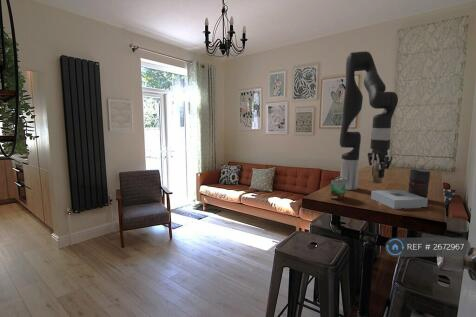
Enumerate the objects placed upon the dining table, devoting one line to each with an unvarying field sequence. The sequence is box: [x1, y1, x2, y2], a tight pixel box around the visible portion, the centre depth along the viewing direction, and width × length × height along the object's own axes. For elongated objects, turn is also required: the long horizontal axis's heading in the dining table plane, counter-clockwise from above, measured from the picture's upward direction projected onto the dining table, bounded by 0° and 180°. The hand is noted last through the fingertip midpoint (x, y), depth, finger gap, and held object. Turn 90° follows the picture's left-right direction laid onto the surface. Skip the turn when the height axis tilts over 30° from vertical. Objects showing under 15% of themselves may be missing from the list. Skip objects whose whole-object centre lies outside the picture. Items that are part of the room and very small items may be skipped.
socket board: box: [370, 189, 429, 210], centre depth 118 cm, size 16×16×4 cm
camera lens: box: [407, 168, 431, 198], centre depth 122 cm, size 8×8×15 cm
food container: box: [330, 175, 347, 200], centre depth 126 cm, size 12×6×10 cm, turn 143°
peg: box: [372, 160, 383, 185], centre depth 111 cm, size 4×4×10 cm
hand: (377, 176), depth 111 cm, fingers closed on peg, 3 cm apart
